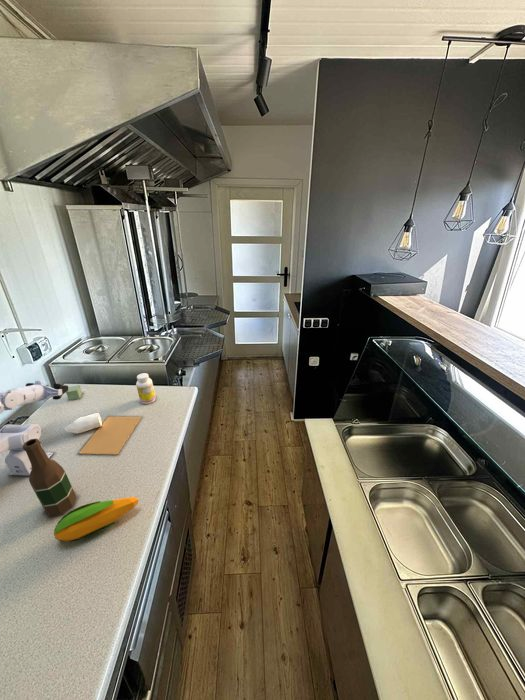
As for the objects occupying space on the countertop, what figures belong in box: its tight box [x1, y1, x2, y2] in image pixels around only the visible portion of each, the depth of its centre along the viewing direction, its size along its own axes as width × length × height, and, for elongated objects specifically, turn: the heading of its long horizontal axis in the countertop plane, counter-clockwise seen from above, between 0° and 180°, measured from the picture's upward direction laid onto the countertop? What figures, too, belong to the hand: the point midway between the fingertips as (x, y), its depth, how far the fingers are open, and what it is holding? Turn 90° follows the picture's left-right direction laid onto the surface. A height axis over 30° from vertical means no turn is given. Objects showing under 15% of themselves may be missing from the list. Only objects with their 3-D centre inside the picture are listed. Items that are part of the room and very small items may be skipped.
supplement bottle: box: [135, 372, 157, 405], centre depth 126 cm, size 7×7×13 cm
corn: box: [53, 496, 139, 543], centre depth 76 cm, size 7×8×20 cm
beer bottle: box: [23, 438, 77, 517], centre depth 78 cm, size 8×8×24 cm
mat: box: [78, 416, 142, 456], centre depth 109 cm, size 20×14×1 cm
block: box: [65, 384, 83, 401], centre depth 131 cm, size 4×4×4 cm
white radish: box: [63, 412, 103, 434], centre depth 110 cm, size 6×12×6 cm, turn 118°
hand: (57, 388), depth 108 cm, fingers open, 7 cm apart
